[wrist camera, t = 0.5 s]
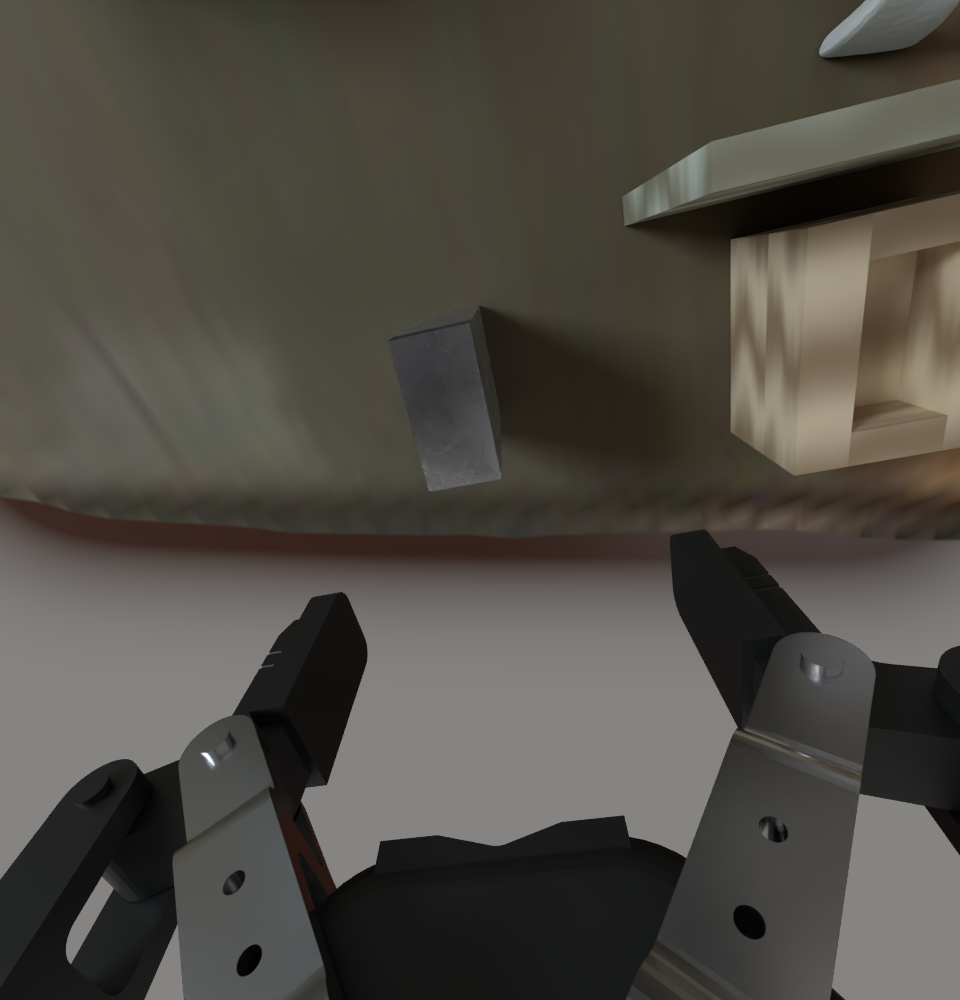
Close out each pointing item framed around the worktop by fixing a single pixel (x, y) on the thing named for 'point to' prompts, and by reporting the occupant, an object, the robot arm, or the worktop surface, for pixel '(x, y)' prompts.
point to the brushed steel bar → (450, 398)
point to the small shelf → (837, 287)
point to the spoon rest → (886, 26)
